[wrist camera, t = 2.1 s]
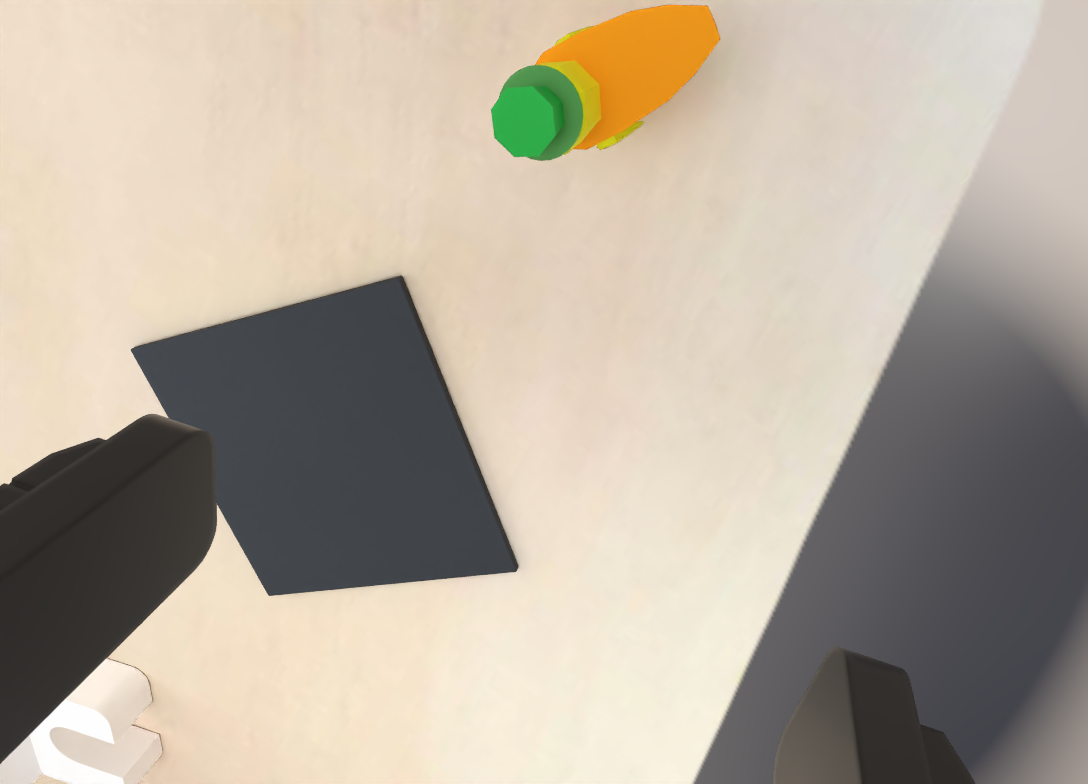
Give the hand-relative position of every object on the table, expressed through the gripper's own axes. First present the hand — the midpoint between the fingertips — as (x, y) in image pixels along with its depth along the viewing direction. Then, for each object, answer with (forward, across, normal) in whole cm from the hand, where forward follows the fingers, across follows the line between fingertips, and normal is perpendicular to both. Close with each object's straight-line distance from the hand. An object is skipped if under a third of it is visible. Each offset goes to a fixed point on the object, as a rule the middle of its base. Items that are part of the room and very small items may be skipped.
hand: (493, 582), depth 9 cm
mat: (+22, +13, +17) cm, 31 cm away
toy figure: (+22, +2, -4) cm, 23 cm away
